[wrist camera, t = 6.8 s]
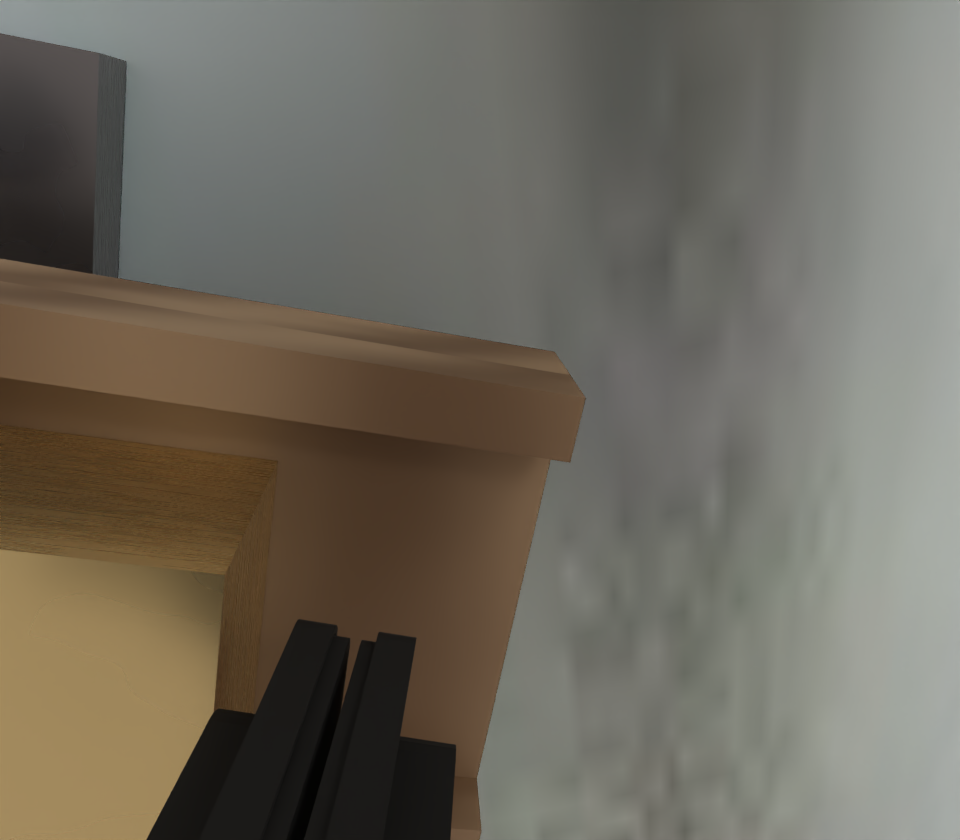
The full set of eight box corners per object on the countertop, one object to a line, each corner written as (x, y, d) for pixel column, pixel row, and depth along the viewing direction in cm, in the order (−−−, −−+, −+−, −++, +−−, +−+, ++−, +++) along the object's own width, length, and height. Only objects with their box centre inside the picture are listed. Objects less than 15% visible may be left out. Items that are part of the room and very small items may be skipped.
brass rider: (278, 460, 12) (224, 574, 9) (252, 719, 14) (198, 898, 10) (-134, 407, 11) (-358, 509, 8) (-111, 685, 13) (-294, 868, 10)
